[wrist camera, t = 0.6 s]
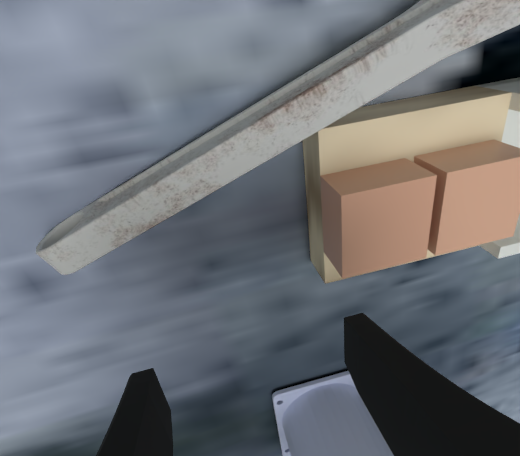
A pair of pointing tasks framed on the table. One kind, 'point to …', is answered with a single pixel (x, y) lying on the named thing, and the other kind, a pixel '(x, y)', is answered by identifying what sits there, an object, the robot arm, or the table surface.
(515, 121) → the tray
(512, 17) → the wrench
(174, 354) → the table surface
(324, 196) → the tile
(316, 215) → the board
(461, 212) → the tile
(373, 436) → the robot arm
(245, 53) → the table surface
